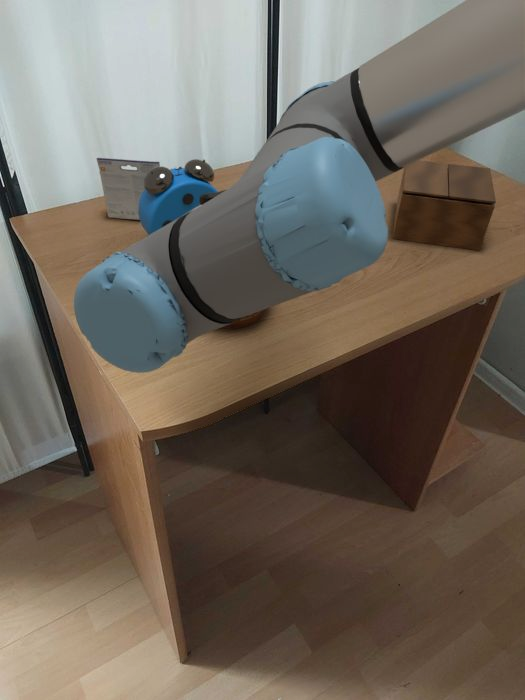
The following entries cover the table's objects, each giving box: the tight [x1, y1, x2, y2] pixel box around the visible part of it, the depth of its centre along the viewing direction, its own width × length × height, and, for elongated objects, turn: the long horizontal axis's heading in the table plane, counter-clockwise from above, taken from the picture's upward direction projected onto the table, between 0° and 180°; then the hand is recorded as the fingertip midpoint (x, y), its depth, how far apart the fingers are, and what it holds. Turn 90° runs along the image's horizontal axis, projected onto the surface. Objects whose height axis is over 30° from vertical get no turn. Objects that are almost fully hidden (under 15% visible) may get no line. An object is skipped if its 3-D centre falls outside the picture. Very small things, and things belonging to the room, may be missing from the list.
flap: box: [447, 163, 497, 205], centre depth 92 cm, size 7×13×1 cm, turn 167°
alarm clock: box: [139, 158, 219, 236], centre depth 87 cm, size 13×6×15 cm, turn 119°
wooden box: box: [392, 159, 496, 251], centre depth 96 cm, size 15×13×9 cm
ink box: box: [96, 157, 161, 221], centre depth 95 cm, size 12×2×12 cm, turn 82°
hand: (311, 180), depth 63 cm, fingers closed
